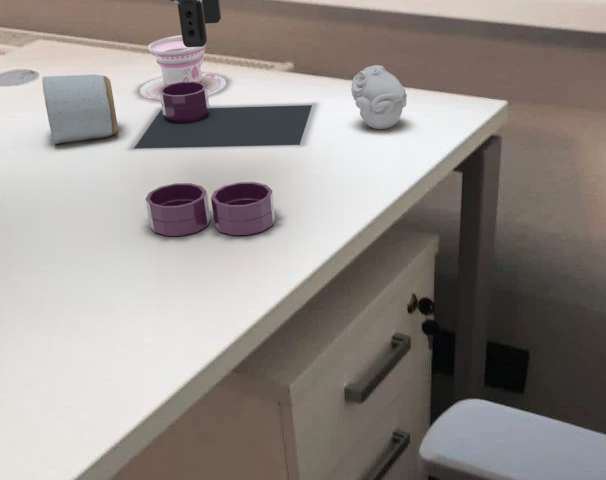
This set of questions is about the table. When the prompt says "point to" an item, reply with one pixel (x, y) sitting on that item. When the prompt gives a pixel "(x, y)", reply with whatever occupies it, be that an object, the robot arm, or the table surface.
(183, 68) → the teacup
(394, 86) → the frog figurine
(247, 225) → the dish right
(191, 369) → the table surface
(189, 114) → the dish left
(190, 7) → the robot arm
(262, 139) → the mat
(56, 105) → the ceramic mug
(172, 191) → the dish middle
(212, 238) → the table surface
